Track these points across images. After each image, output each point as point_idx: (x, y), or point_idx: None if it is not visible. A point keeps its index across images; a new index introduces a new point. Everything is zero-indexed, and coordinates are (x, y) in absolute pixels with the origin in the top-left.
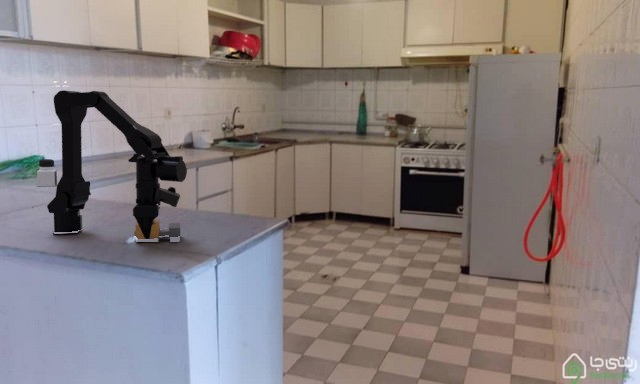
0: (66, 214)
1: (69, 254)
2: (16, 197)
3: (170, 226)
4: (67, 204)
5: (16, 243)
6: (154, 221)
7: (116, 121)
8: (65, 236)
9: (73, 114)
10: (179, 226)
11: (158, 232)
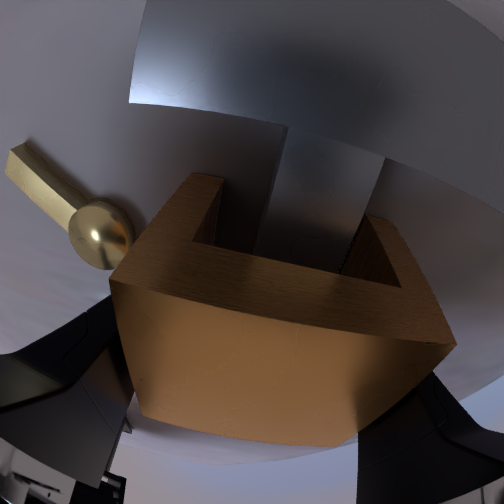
0: (108, 466)
1: (354, 441)
2: None
3: (438, 153)
4: (118, 500)
5: (203, 460)
6: (250, 364)
7: None
8: (142, 424)
9: None
10: (483, 35)
11: (420, 280)
